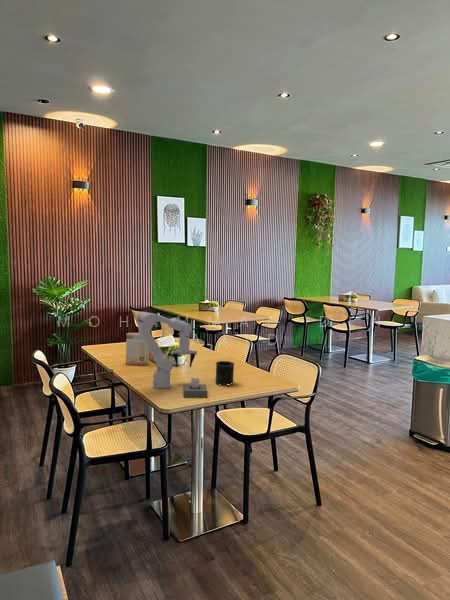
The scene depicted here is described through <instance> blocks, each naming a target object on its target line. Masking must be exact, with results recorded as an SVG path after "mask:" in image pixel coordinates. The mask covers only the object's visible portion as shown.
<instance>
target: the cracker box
mask: <svg viewBox="0 0 450 600" xmlns="http://www.w3.org/2000/svg"><path fill="white" fill-rule="evenodd" d="M125 338H126V339H125V341H126V342H125V365H127V366H144V367H147V366H148V365H149V361H150V360H149V358H150V350H149V348H148V347H147V345H146V343H145V342H144V340H143V339H142V337H141V336H140V334H139V332H128V333H127V332H126V337H125Z"/></svg>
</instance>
